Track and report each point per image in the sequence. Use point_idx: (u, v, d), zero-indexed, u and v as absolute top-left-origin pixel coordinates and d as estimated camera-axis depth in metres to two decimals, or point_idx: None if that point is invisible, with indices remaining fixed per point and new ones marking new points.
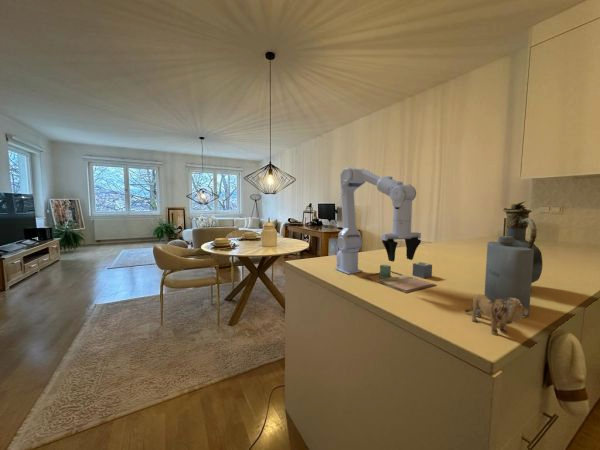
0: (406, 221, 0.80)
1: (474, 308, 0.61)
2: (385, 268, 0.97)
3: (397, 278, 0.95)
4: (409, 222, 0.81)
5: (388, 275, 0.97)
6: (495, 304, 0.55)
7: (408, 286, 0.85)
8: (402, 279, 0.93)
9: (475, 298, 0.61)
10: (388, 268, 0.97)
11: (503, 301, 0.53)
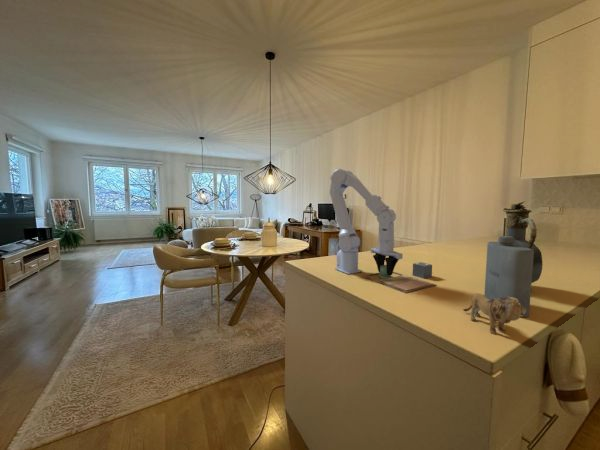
0: (379, 240, 0.97)
1: (473, 307, 0.62)
2: (385, 268, 0.97)
3: (397, 278, 0.95)
4: (382, 241, 0.96)
5: (388, 275, 0.97)
6: (494, 303, 0.55)
7: (408, 286, 0.85)
8: (402, 279, 0.93)
9: (474, 297, 0.62)
10: None
11: (501, 300, 0.54)
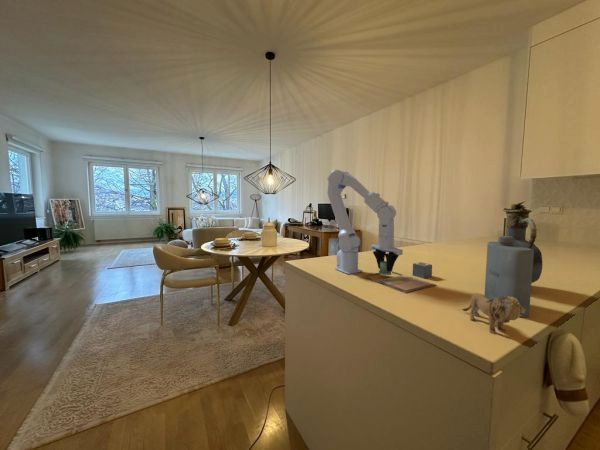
0: (380, 236, 0.97)
1: (472, 307, 0.62)
2: (385, 264, 0.97)
3: (397, 278, 0.95)
4: (382, 237, 0.96)
5: (388, 271, 0.97)
6: (493, 303, 0.56)
7: (408, 286, 0.85)
8: (402, 279, 0.93)
9: (473, 297, 0.62)
10: None
11: (501, 300, 0.54)
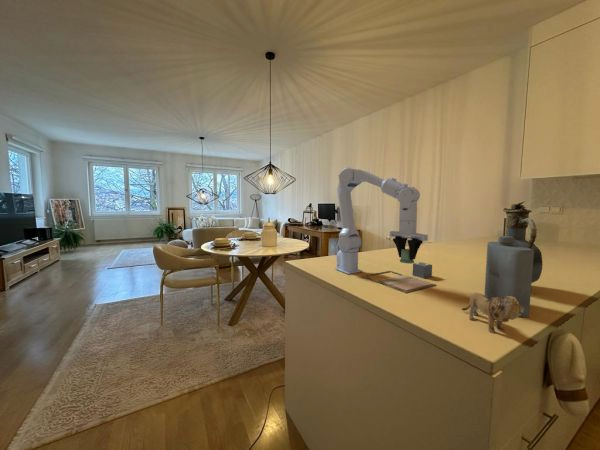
0: (401, 221, 0.87)
1: (471, 306, 0.62)
2: (407, 252, 0.87)
3: (397, 278, 0.95)
4: (404, 222, 0.86)
5: None
6: (492, 302, 0.56)
7: (408, 286, 0.85)
8: (402, 279, 0.93)
9: (472, 296, 0.62)
10: None
11: (500, 299, 0.54)
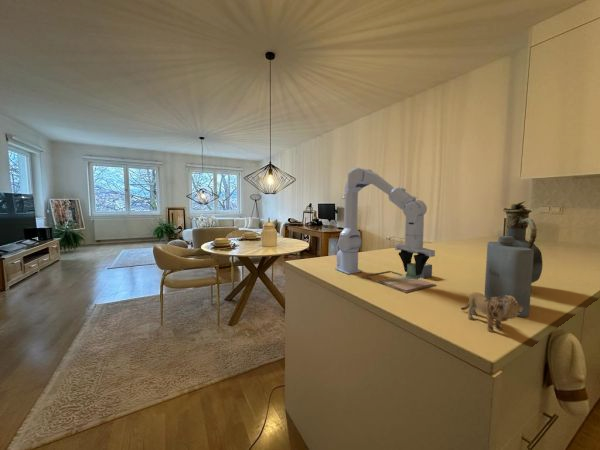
0: (407, 235, 0.85)
1: (470, 306, 0.63)
2: (414, 267, 0.85)
3: (397, 278, 0.95)
4: (410, 237, 0.84)
5: (417, 275, 0.86)
6: (491, 301, 0.56)
7: (408, 286, 0.85)
8: (402, 279, 0.93)
9: (471, 296, 0.63)
10: None
11: (499, 299, 0.55)
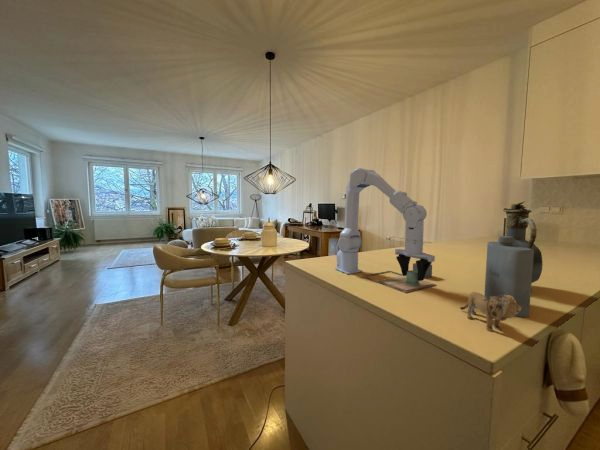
0: (407, 240, 0.86)
1: (469, 305, 0.63)
2: (413, 274, 0.85)
3: (397, 278, 0.95)
4: (410, 242, 0.85)
5: (416, 282, 0.86)
6: (490, 301, 0.57)
7: (408, 286, 0.85)
8: (402, 279, 0.93)
9: (470, 296, 0.63)
10: (417, 274, 0.86)
11: (498, 298, 0.55)
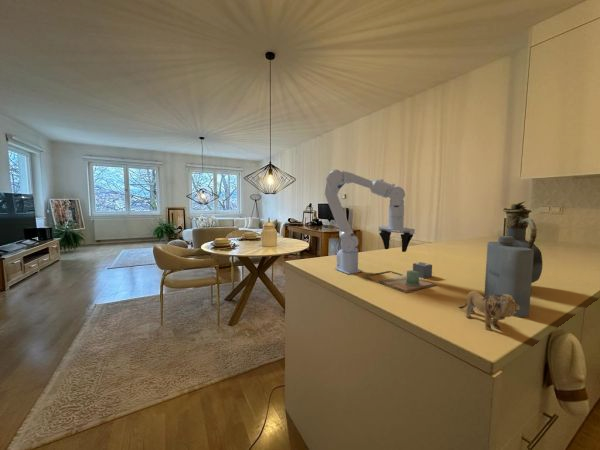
0: (391, 217, 0.98)
1: (468, 305, 0.63)
2: (413, 274, 0.86)
3: (397, 278, 0.95)
4: (393, 218, 0.97)
5: (416, 282, 0.86)
6: (489, 300, 0.57)
7: (408, 286, 0.85)
8: (402, 279, 0.93)
9: (469, 295, 0.63)
10: (417, 274, 0.86)
11: (496, 297, 0.56)
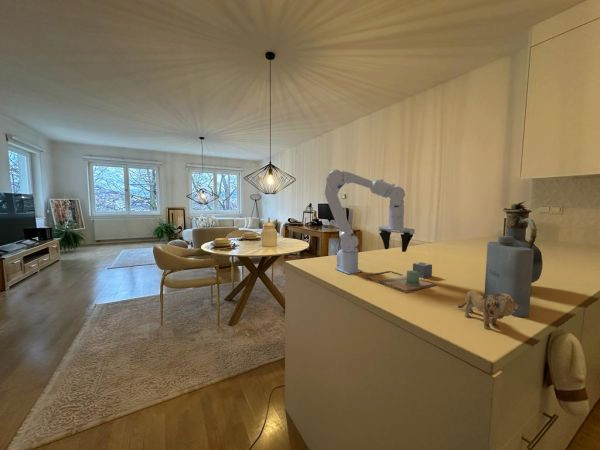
0: (391, 217, 0.98)
1: (467, 304, 0.64)
2: (413, 274, 0.85)
3: (397, 278, 0.95)
4: (393, 218, 0.97)
5: (416, 282, 0.86)
6: (487, 299, 0.57)
7: (408, 286, 0.85)
8: (402, 279, 0.93)
9: (468, 294, 0.64)
10: (417, 274, 0.86)
11: (495, 297, 0.56)
